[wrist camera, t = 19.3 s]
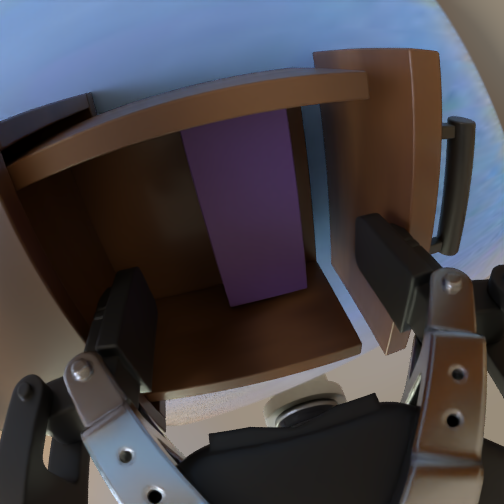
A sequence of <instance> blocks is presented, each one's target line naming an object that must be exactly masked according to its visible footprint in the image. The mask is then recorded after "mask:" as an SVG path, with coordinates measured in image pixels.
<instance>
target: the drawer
mask: <svg viewBox="0 0 504 504" xmlns="http://www.w3.org/2000/svg"><path fill="white" fill-rule="evenodd" d="M313 59H314V66H315V68H284V69H276V70H269V71H262V72H256V73H250V74H244V75H238V76H233V77H228V78H223V79H218V80H213V81H209V82H204V83H200V84H196V85H192V86H188V87H184V88H180V89H176V90H172V91H169V92H165V93H162V94H158V95H155V96H152V97H148V98H145V99H142V100H139V101H136V102H133V103H130V104H127V105H124V106H121V107H118V108H115V109H113V110H110V111H107V112H104V113H102V114H99V115H97V116H94V117H92V118H89V119H87V120H84V121H82V122H79V123H77V124H75V125H72V126H70V127H68V128H65V129H63V130H61V131H59V132H57V133H54V134H52V135H50V136H49V137H47V138H45V139H43V140H42V141H40V142H38V143H36V144H35V145H33V146H31V147H30V148H28V149H26V150H25V151H23V152H22V153H20V154H18V155H17V156H15V157H14V158H12V159H11V160H9V161H8V162H6V163H5V165H6V168H7V170H8V173H9V175H10V178H11V181H12V183H13V186H14V188H15V190H16V193H17V195H18V197H19V200H20V202H21V204H22V207H23V209H24V211H25V213H26V215H27V217H28V220H29V222H30V224H31V226H32V228H33V230H34V232H35V234H36V236H37V238H38V240H39V242H40V244H41V246H42V248H43V249H44V251H45V253H46V255H47V257H48V259H49V261H50V262H51V264H52V266H53V268H54V269H55V271H56V273H57V275H58V276H59V278H60V280H61V282H62V283H63V285H64V287H65V288H66V290H67V291H68V293H69V295H70V296H71V298H72V299H73V301H74V303H75V304H76V306H77V307H78V309H79V310H80V312H81V313H82V315H83V316H84V318H85V319H86V321H87V322H88V324H89V325H90V327H91V324H92V321H94V320H93V317H94V314H95V312H96V308H97V305H98V302H99V299H100V297H101V296H102V295H103V293H104V292H105V291H106V289H107V288H109V287H112V285H113V282H114V279H115V276H116V273H117V271H120V270H124V269H128V268H132V267H139V268H140V270H141V271H142V274H143V276H144V278H145V280H146V282H147V284H148V286H149V289H150V291H151V293H152V295H153V297H154V299H155V302H156V305H157V310H158V319H157V329H156V340H155V351H154V364H153V378H152V392H146V393H142V394H143V395H144V396H145V397H146V398H147V400H148V401H149V402H156V401H163V400H171V399H177V398H184V397H190V396H196V395H202V394H207V393H213V392H218V391H223V390H228V389H233V388H238V387H242V386H247V385H251V384H256V383H260V382H264V381H268V380H273V379H277V378H280V377H284V376H288V375H292V374H296V373H299V372H303V371H306V370H310V369H313V368H317V367H320V366H323V365H327V364H330V363H333V362H336V361H339V360H343V359H346V358H349V357H352V356H355V355H358V354H360V353H361V347H362V343H361V341H360V339H359V337H358V335H357V333H356V331H355V329H354V328H353V326H352V324H351V322H350V320H349V318H348V316H347V315H346V313H345V311H344V309H343V307H342V305H341V304H340V302H339V300H338V298H337V296H336V295H335V293H334V291H333V289H332V287H331V286H330V284H329V282H328V280H327V279H326V277H325V275H324V273H323V272H322V270H321V268H320V266H319V265H318V263H317V261H316V248H315V235H314V222H313V210H312V199H311V188H310V178H309V169H308V160H307V151H306V142H305V134H304V126H303V119H302V111H301V106H307V105H315V104H320V110H321V119H322V128H323V137H324V148H325V159H326V170H327V184H328V198H329V216H330V237H331V264H332V266H333V268H334V269H335V271H336V272H337V274H338V276H339V277H340V279H341V280H342V282H343V284H344V285H345V287H346V289H347V290H348V292H349V294H350V295H351V297H352V299H353V300H354V302H355V304H356V305H357V307H358V309H359V310H360V312H361V314H362V315H363V317H364V319H365V320H366V322H367V324H368V326H369V327H370V329H371V331H372V333H373V334H374V336H375V338H376V340H377V341H378V343H379V345H380V347H381V348H382V350H383V352H384V354H385V355H389V354H392V353H394V352H397V351H399V350H402V349H404V348H405V347H406V345H407V342H408V338H409V335H410V331H411V330H408V331H406V332H403V333H400V331H399V330H398V328H397V327H396V325H395V323H394V322H393V320H392V319H391V317H390V315H389V314H388V312H387V311H386V309H385V308H384V306H383V305H382V303H381V301H380V300H379V298H378V297H377V295H376V294H375V292H374V291H373V289H372V288H371V286H370V285H369V283H368V282H367V280H366V279H365V277H364V276H363V274H362V273H361V271H360V270H359V268H358V266H357V263H356V258H355V221H356V218H357V217H358V216H362V215H367V214H371V213H379V214H380V215H381V216H382V217H383V218H384V219H385V220H386V221H387V222H388V223H389V224H390V223H394V224H396V225H398V226H400V227H402V228H404V229H405V230H406V231H407V232H408V233H409V234H410V235H411V236H412V237H413V239H415V240H416V241H417V242H418V243H419V244H420V246H422V247H423V248H424V249H425V250H426V251H427V252H428V253H429V254H430V255H431V254H434V253H437V252H440V253H441V254H444V255H448V256H452V255H455V254H456V253H457V252H458V250H459V246H460V241H461V236H462V232H463V227H464V222H465V216H466V211H467V205H468V198H469V192H470V184H471V176H472V168H473V158H474V145H475V128H476V124H475V122H474V121H472V120H470V119H467V118H463V117H456V116H451V117H448V119H447V123H442V91H441V72H440V59H439V53H438V52H437V51H432V50H423V49H412V48H360V49H342V50H329V51H318V52H313ZM280 109H287V116H288V122H289V129H290V136H291V143H292V150H293V158H294V165H295V173H296V181H297V189H298V197H299V206H300V215H301V224H302V233H303V243H304V253H305V264H306V275H307V288H305V289H301V290H298V291H294V292H290V293H286V294H282V295H279V296H275V297H271V298H267V299H263V300H259V301H255V302H251V303H247V304H242V305H238V306H234V307H230V305H229V302H228V298H227V295H226V292H225V289H224V285H223V282H222V279H221V276H220V272H219V269H218V266H217V263H216V259H215V256H214V253H213V249H212V246H211V243H210V239H209V236H208V232H207V229H206V225H205V222H204V219H203V215H202V212H201V208H200V205H199V201H198V197H197V194H196V190H195V187H194V183H193V180H192V176H191V172H190V169H189V165H188V161H187V157H186V154H185V150H184V146H183V142H182V139H181V135H180V131H182V130H186V129H189V128H193V127H197V126H201V125H205V124H210V123H214V122H218V121H223V120H227V119H232V118H237V117H242V116H247V115H252V114H257V113H263V112H268V111H274V110H280ZM442 139H447V149H446V165H445V177H444V188H443V197H442V205H441V212H440V219H439V226H438V232H437V237H434V238H432V233H433V227H434V220H435V213H436V205H437V196H438V187H439V175H440V161H441V141H442Z"/></svg>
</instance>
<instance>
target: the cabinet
mask: <svg viewBox="0 0 504 504" xmlns="http://www.w3.org/2000/svg"><path fill="white" fill-rule="evenodd" d="M94 116H97V112H96V109H95V105H94V102H93V98H92V94H91V92H89V93H85V94H81V95H78V96H74V97H70V98H67V99H63V100H60V101H57V102H53V103H50V104H47V105H44V106H41V107H38V108H35V109H32V110H29V111H26V112H23V113H21V114H18V115H15V116H13V117H10V118H8V119H5V120H3V121H0V431H2V430H3V426H4V422H5V418H6V414H7V410H8V406H9V403H10V399H11V396H12V392H13V390H14V388H15V386H16V384H17V383H18V382H19V381H20V380H21V379H22V378H23V377H25V376H27V375H31V374H35V375H37V376H39V377H40V378H41V379H42V380H43V381H44V382H45V383H48V382H50V381H52V380H55V379H57V378H59V377H62V376H63V374H64V370H65V368H66V366H67V364H68V363H69V361H70V360H71V359H72V358H73V357H75V356H76V355H78V354H80V353H82V352H84V349H85V345H86V341H87V338H88V334H89V331H90V325H89V324H88V322H87V321H86V319H85V318H84V316H83V315H82V313H81V312H80V310H79V309H78V307H77V306H76V304H75V303H74V301H73V299H72V298H71V296H70V295H69V293H68V291H67V290H66V288H65V287H64V285H63V283H62V282H61V280H60V278H59V276H58V275H57V273H56V271H55V269H54V268H53V266H52V264H51V262H50V261H49V259H48V257H47V255H46V253H45V251H44V249H43V248H42V246H41V244H40V242H39V240H38V238H37V236H36V234H35V232H34V230H33V228H32V226H31V224H30V222H29V220H28V217H27V215H26V213H25V211H24V209H23V207H22V204H21V202H20V200H19V197H18V195H17V193H16V190H15V188H14V186H13V183H12V181H11V178H10V175H9V173H8V170H7V168H6V165H5V163H6V162H8V161H9V160H11V159H12V158H14V157H15V156H17V155H18V154H20V153H22V152H23V151H25V150H26V149H28V148H30V147H31V146H33V145H35V144H36V143H38V142H40V141H42V140H43V139H45V138H47V137H49V136H50V135H52V134H54V133H57V132H59V131H61V130H63V129H65V128H68V127H70V126H72V125H75V124H77V123H79V122H82V121H84V120H87V119H89V118H92V117H94ZM139 403H140V404H141V405H142V406H143V407H144V409H145V410H146V411H147V413H148V414H149V415H150V417H151V418H152V419H153V420H154V422H155V423H156V424H157V426H158V427H159V428H160V429H161V431H162V432H163V433H165V432H166V420H165V418H166V408H165V400H163V401H156V402H149V401H148V400H147V398H146V397H145V396H144V395H143V394H142V393H140V397H139ZM46 435H49V434H47V433H46Z"/></svg>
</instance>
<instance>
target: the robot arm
mask: <svg viewBox="0 0 504 504" xmlns="http://www.w3.org/2000/svg"><path fill="white" fill-rule="evenodd" d="M355 258H356V263H357V266H358V268H359V270H360V271H361V273H362V274H363V276H364V277H365V279H366V280H367V282H368V283H369V285H370V286H371V288H372V289H373V291H374V292H375V294H376V295H377V297H378V298H379V300H380V301H381V303H382V305H383V306H384V308H385V309H386V311H387V312H388V314H389V315H390V317H391V319H392V320H393V322H394V323H395V325H396V327H397V328H398V330H399V331H400V333H403V332H406V331H408V330H411V329H412V330H413V331H414V333H415V336H414V340H413V346H412V352H411V359H410V365H409V370H408V376H407V381H406V386H405V390H404V393H403V396H402V399H401V402H400V403H398V402H379V401H378V398H377V396H376V394H375V393H372V394H370V395H367V396H364V397H361V398H358V399H355V400H352V401H349V402H346V403H343V404H340V405H339V404H338V402H337V401H336V400H334V399H329V398H322V399H314V400H309V401H306V402H302V403H300V404H297V405H295V406H292V407H290V408H288V409H287V410H285V411H283V412H282V413H281V414H280V415H279V416H278V417H277V418H276V420H275V425H276V427H248V428H242V429H236V430H230V431H224V432H217V433H210V434H209V442H210V444H209V445H207V446H204V447H202V448H200V449H199V450H197V451H195V452H193V453H192V454H190V455H189V456H188V457H185V456H184V455H183V454H182V453H181V452H180V451H179V450H178V449H177V448H176V447H175V446H174V445H173V444H172V443H171V442H170V440H169V439H168V438H167V437H166V436H165V434H164V433H163V432H162V431H161V429H160V428H159V427H158V426H157V424H156V423H155V422H154V420H153V419H152V418H151V417H150V415H149V414H148V413H147V411H146V410H145V409H144V407H143V406H142V405H141V404H140V403H139V397H140V393H146V392H152V378H153V364H154V351H155V340H156V329H157V319H158V310H157V305H156V302H155V299H154V297H153V295H152V293H151V291H150V289H149V286H148V284H147V282H146V280H145V278H144V276H143V274H142V271H141V270H140V268H139V267H132V268H128V269H124V270H120V271H117V273H116V276H115V279H114V282H113V285H112V287H109V288H107V289H106V291H105V292H104V293H103V295H102V296H101V297H100V299H99V302H98V305H97V308H96V312H95V314H94V317H93V320H94V321H92V324H91V327H90V331H89V334H88V338H87V341H86V345H85V349H84V352H82V353H80V354H78V355H76V356H75V357H73V358H72V359H71V360H70V361H69V363H68V364H67V366H66V368H65V370H64V374H63V376H62V377H59V378H57V379H55V380H52V381H50V382H48V383H45V382H44V381H43V380H42V379H41V378H40V377H39V376H37V375H35V374H31V375H27V376H25V377H23V378H22V379H21V380H20V381H19V382H18V383H17V384H16V386H15V388H14V390H13V392H12V396H11V399H10V403H9V406H8V410H7V414H6V418H5V422H4V426H3V430H2V435H1V439H0V504H88V478H89V462H90V456H91V458H92V460H93V462H94V463H95V465H96V467H97V469H98V471H99V472H100V474H101V476H102V478H103V479H104V481H105V483H106V484H107V486H108V487H109V489H110V491H111V492H112V494H113V495H114V497H115V498H116V500H117V501H118V503H119V504H504V446H501V445H499V444H497V443H494V442H492V441H490V440H487V439H485V438H483V436H484V426H485V414H486V395H487V371H488V373H489V374H490V376H491V377H492V379H493V381H494V382H495V384H496V386H497V387H498V389H499V391H500V393H501V394H502V396H503V398H504V265H498V266H496V267H494V268H493V270H492V273H491V276H490V279H486V280H471V279H470V278H469V277H468V276H467V275H466V274H465V273H464V272H462V271H460V270H458V269H455V268H448V267H446V268H442V266H441V265H440V264H439V263H438V262H437V261H436V260H435V259H434V258H433V257H432V256H431V255H430V254H429V253H428V252H427V251H426V250H425V249H424V248H423V247H422V246H420V244H419V243H418V242H417V241H416V240H415V239H413V237H412V236H411V235H410V234H409V233H408V232H407V231H406V230H405V229H404V228H402V227H400V226H398V225H396V224H394V223H390V224H389V223H388V222H387V221H386V220H385V219H384V218H383V217H382V216H381V215H380V214H379V213H371V214H367V215H362V216H358V217H357V218H356V221H355ZM46 433H47V434H49V435H50V436H51V437H52V441H51V448H50V456H49V464H48V470H47V468H46V467H45V465H44V463H43V449H44V443H45V436H46Z"/></svg>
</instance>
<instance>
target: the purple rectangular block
mask: <svg viewBox="0 0 504 504" xmlns="http://www.w3.org/2000/svg"><path fill="white" fill-rule="evenodd" d="M180 135H181V139H182V142H183V146H184V150H185V154H186V157H187V161H188V165H189V169H190V172H191V176H192V180H193V183H194V187H195V190H196V194H197V197H198V201H199V205H200V208H201V212H202V215H203V219H204V222H205V225H206V229H207V232H208V236H209V239H210V243H211V246H212V249H213V253H214V256H215V259H216V263H217V266H218V269H219V272H220V276H221V279H222V282H223V285H224V289H225V292H226V295H227V298H228V302H229V305H230V307H234V306H238V305H242V304H247V303H251V302H255V301H259V300H263V299H267V298H271V297H275V296H279V295H282V294H286V293H290V292H294V291H298V290H301V289H305V288H307V275H306V264H305V253H304V243H303V233H302V224H301V215H300V206H299V197H298V189H297V181H296V173H295V165H294V158H293V150H292V143H291V136H290V129H289V122H288V116H287V109H280V110H274V111H268V112H263V113H257V114H252V115H247V116H242V117H237V118H232V119H227V120H223V121H218V122H214V123H210V124H205V125H201V126H197V127H193V128H189V129H186V130H182V131H180Z"/></svg>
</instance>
